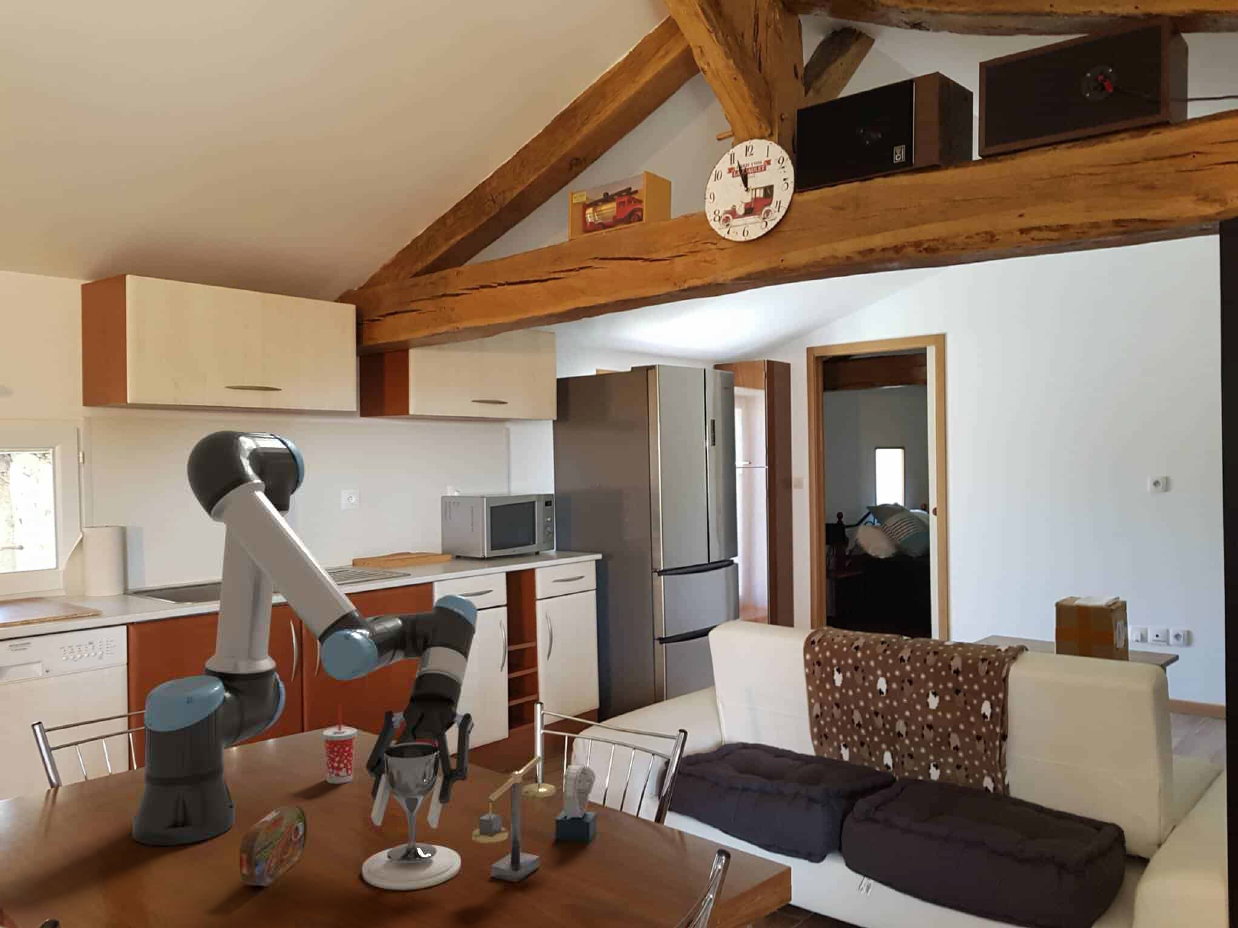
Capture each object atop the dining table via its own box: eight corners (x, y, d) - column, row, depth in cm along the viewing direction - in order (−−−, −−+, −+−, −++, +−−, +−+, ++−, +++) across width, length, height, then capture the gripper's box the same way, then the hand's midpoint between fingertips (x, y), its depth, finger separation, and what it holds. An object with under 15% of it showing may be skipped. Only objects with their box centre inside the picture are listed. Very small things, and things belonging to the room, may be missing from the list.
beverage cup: (351, 784, 178) (351, 708, 178) (318, 784, 178) (318, 708, 178) (360, 774, 184) (360, 700, 184) (328, 774, 184) (328, 700, 184)
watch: (599, 827, 157) (599, 759, 157) (586, 846, 149) (586, 774, 149) (566, 824, 158) (565, 757, 158) (551, 843, 150) (551, 772, 150)
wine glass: (426, 866, 136) (426, 759, 136) (374, 861, 137) (374, 756, 137) (447, 844, 144) (447, 743, 144) (397, 840, 145) (398, 740, 145)
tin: (255, 896, 131) (255, 834, 132) (234, 895, 132) (234, 833, 132) (308, 853, 146) (308, 797, 146) (289, 851, 147) (289, 796, 147)
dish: (341, 877, 137) (341, 869, 137) (405, 843, 150) (405, 836, 150) (419, 897, 131) (419, 889, 131) (479, 859, 144) (479, 852, 144)
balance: (495, 899, 130) (495, 787, 130) (465, 892, 133) (464, 782, 133) (561, 852, 146) (561, 752, 146) (533, 846, 149) (533, 748, 149)
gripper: (505, 697, 155) (478, 837, 138) (382, 694, 157) (342, 830, 141) (497, 671, 149) (468, 813, 133) (370, 668, 152) (327, 807, 136)
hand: (403, 822), depth 137 cm, fingers open, 8 cm apart
